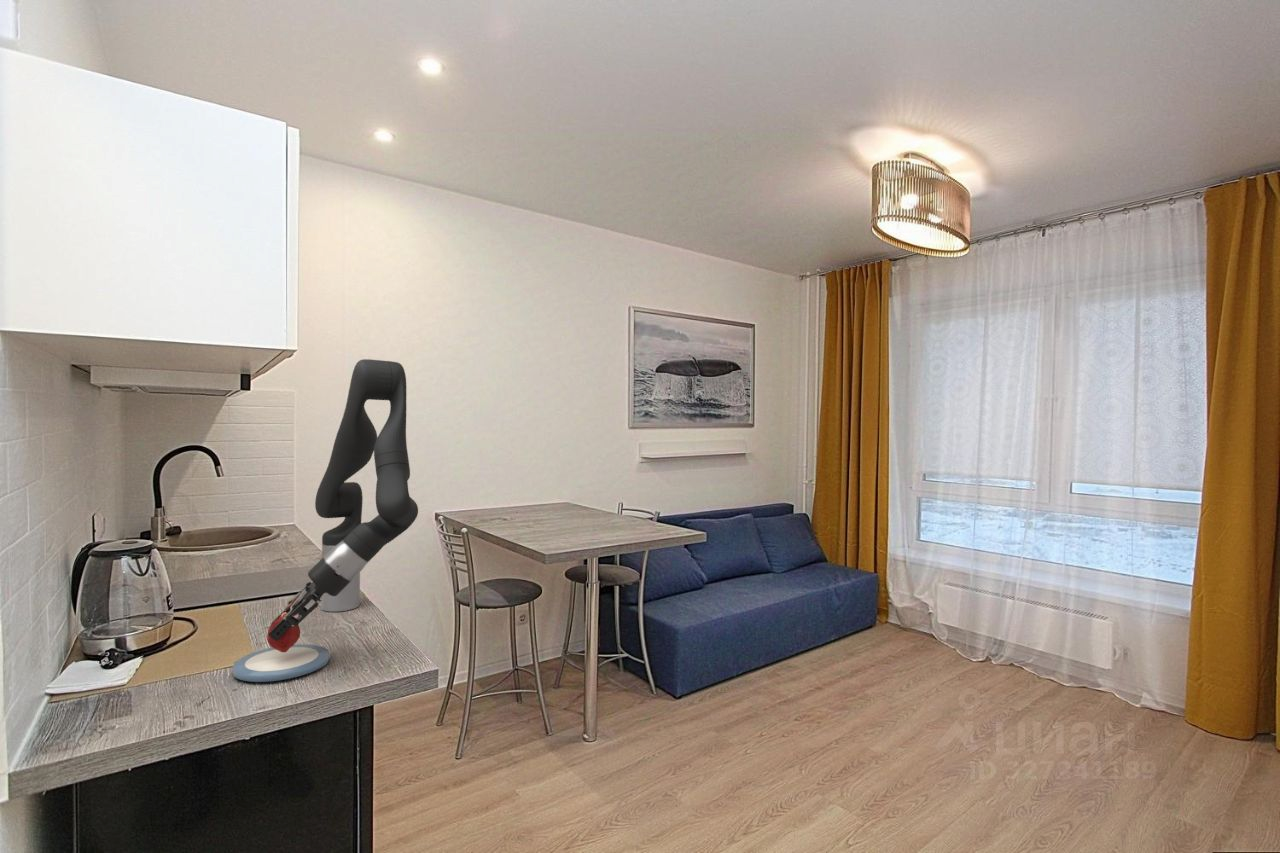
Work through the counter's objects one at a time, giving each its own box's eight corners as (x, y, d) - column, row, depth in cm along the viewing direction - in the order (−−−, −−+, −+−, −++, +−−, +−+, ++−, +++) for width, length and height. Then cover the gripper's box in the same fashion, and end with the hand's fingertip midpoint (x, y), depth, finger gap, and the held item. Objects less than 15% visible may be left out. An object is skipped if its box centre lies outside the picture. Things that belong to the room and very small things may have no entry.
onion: (285, 658, 127) (285, 618, 127) (260, 656, 128) (260, 616, 128) (306, 648, 133) (306, 609, 133) (281, 646, 134) (281, 607, 134)
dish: (237, 660, 134) (237, 651, 134) (328, 648, 142) (328, 639, 142) (227, 691, 119) (227, 681, 119) (330, 675, 127) (330, 666, 127)
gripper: (324, 549, 140) (260, 611, 135) (325, 563, 127) (254, 632, 122) (351, 571, 142) (289, 633, 137) (354, 587, 130) (286, 655, 124)
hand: (273, 632), depth 130 cm, fingers closed on onion, 5 cm apart
